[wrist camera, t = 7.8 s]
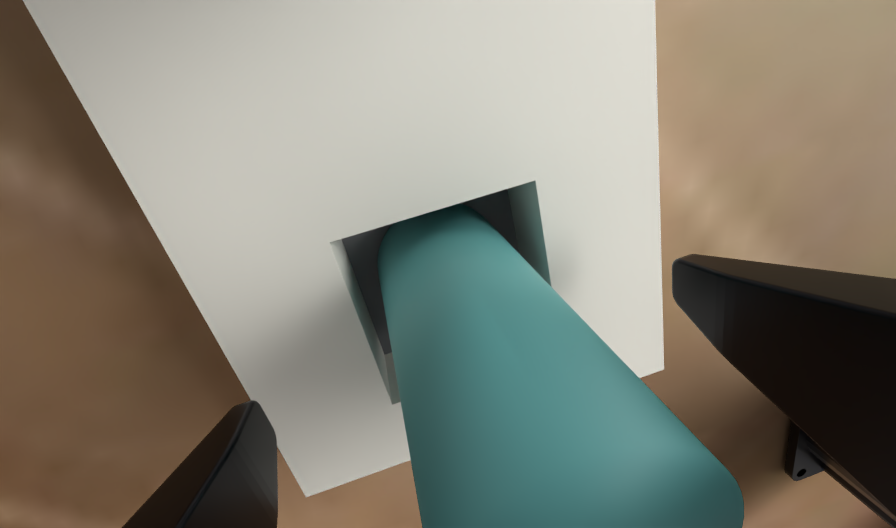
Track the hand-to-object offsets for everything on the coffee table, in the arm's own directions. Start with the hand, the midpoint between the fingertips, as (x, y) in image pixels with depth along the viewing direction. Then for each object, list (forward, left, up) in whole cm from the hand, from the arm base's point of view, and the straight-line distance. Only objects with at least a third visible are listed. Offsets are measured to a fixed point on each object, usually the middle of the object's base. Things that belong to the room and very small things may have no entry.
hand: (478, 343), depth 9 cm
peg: (0, 0, -4) cm, 4 cm away
